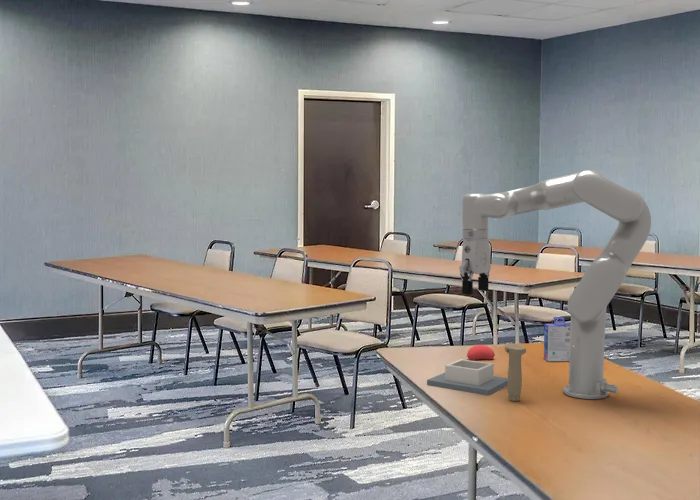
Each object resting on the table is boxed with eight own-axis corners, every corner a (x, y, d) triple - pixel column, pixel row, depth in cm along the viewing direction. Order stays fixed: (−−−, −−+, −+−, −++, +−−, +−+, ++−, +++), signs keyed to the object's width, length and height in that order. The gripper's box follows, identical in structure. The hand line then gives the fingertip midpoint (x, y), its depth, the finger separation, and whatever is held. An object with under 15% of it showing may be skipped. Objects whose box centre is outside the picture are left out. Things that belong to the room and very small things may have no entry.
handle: (514, 396, 232) (515, 344, 231) (528, 401, 226) (529, 348, 225) (500, 398, 230) (501, 345, 229) (513, 403, 224) (515, 350, 223)
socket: (511, 383, 246) (511, 364, 245) (488, 395, 233) (488, 374, 232) (452, 374, 257) (452, 355, 257) (426, 384, 244) (427, 365, 244)
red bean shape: (468, 360, 282) (463, 346, 279) (493, 351, 281) (488, 337, 279) (472, 369, 277) (466, 354, 274) (497, 359, 277) (492, 345, 274)
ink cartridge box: (570, 357, 281) (571, 316, 279) (576, 361, 275) (577, 319, 274) (542, 358, 280) (543, 316, 278) (547, 362, 274) (548, 319, 273)
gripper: (472, 237, 233) (472, 296, 235) (500, 233, 247) (500, 289, 249) (449, 236, 238) (449, 294, 239) (478, 232, 252) (478, 288, 253)
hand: (475, 292), depth 244 cm, fingers open, 9 cm apart
